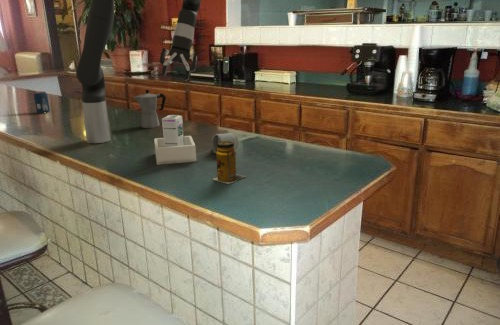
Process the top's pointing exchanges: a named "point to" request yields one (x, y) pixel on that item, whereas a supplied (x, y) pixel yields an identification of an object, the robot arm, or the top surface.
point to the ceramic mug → (224, 137)
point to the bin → (175, 152)
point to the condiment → (226, 163)
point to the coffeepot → (149, 109)
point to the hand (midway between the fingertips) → (174, 78)
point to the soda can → (41, 102)
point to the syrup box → (173, 131)
